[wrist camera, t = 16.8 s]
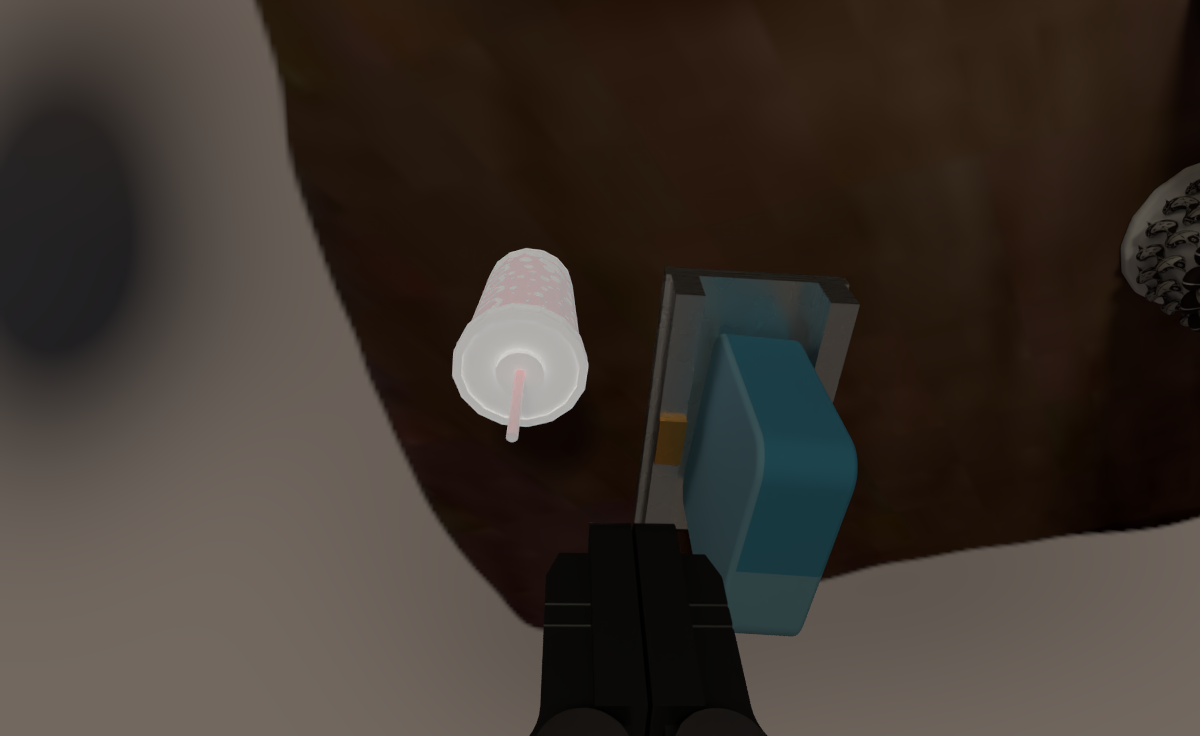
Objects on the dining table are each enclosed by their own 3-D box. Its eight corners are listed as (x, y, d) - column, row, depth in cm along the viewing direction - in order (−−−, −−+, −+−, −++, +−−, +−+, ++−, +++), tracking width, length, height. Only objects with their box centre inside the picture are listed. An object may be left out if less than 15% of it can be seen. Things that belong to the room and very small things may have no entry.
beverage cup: (554, 215, 40) (544, 345, 28) (604, 309, 43) (616, 464, 31) (453, 264, 41) (402, 408, 29) (509, 352, 44) (483, 517, 32)
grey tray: (843, 277, 42) (867, 308, 39) (780, 522, 51) (794, 565, 48) (664, 266, 41) (672, 297, 38) (633, 516, 50) (636, 559, 47)
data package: (749, 495, 48) (795, 651, 38) (679, 489, 48) (707, 645, 38) (796, 329, 42) (867, 462, 32) (717, 322, 42) (763, 454, 32)
